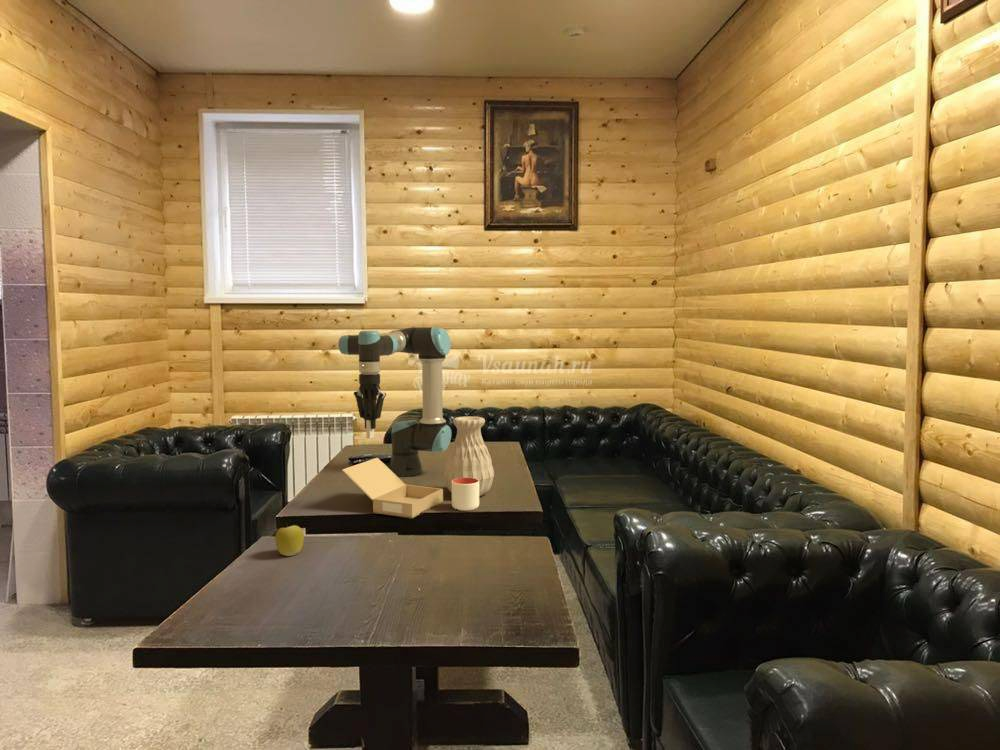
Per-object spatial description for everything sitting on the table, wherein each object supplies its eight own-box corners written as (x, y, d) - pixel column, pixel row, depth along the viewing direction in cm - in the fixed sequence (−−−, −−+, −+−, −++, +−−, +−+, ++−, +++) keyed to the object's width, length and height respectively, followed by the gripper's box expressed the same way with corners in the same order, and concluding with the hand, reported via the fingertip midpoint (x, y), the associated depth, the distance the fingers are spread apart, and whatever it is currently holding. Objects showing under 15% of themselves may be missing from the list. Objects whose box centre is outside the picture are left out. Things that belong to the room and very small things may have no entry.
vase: (451, 486, 272) (451, 414, 269) (499, 489, 268) (499, 415, 265) (436, 499, 252) (436, 421, 250) (488, 502, 248) (488, 423, 246)
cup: (475, 512, 236) (475, 484, 235) (448, 510, 238) (448, 483, 237) (481, 504, 246) (482, 478, 245) (455, 503, 248) (455, 476, 247)
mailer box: (406, 497, 255) (406, 484, 255) (443, 502, 249) (442, 488, 249) (373, 512, 235) (372, 499, 235) (412, 518, 229) (411, 504, 228)
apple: (306, 553, 192) (295, 521, 190) (279, 563, 191) (267, 531, 189) (310, 544, 199) (299, 513, 198) (283, 553, 198) (272, 523, 197)
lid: (406, 484, 255) (405, 486, 255) (377, 457, 259) (376, 458, 260) (372, 499, 235) (371, 500, 235) (342, 469, 239) (341, 470, 239)
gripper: (348, 373, 240) (349, 437, 242) (378, 374, 235) (379, 440, 237) (361, 371, 247) (361, 434, 249) (390, 373, 242) (391, 437, 244)
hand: (370, 437), depth 243 cm, fingers closed
